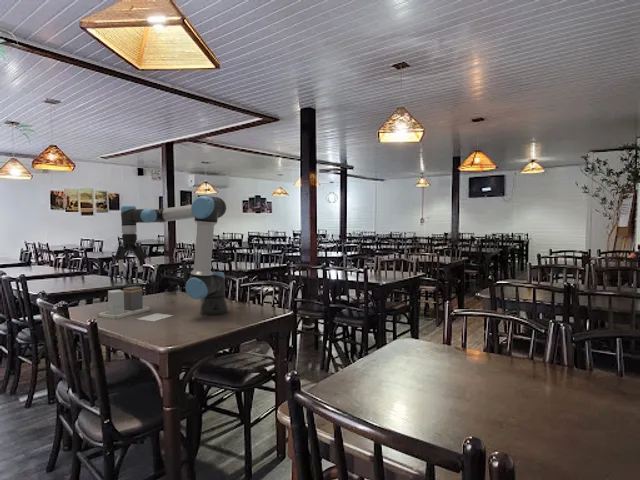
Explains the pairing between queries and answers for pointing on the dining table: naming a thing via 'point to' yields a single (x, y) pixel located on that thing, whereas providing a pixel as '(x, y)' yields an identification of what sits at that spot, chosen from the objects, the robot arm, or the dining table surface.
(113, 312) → the small box
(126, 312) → the beige rectangular board
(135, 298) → the twin block
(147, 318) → the mat
